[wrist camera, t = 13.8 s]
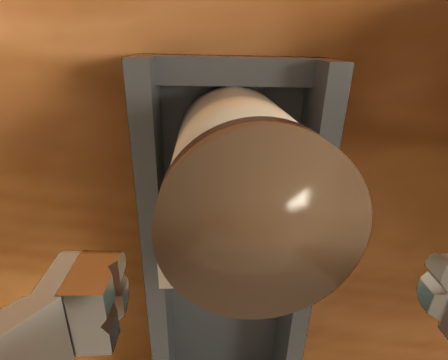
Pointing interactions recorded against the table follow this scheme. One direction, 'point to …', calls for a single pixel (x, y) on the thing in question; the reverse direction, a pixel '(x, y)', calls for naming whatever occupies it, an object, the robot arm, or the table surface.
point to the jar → (257, 209)
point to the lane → (161, 160)
